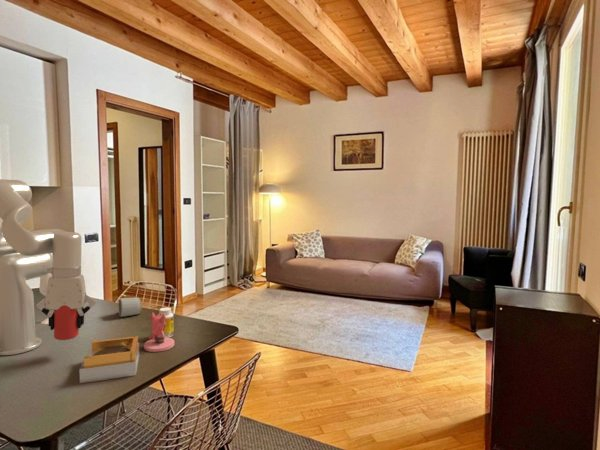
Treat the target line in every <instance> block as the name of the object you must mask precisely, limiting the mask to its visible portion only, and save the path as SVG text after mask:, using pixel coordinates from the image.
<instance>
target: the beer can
mask: <svg viewBox="0 0 600 450" xmlns="http://www.w3.org/2000/svg"><path fill="white" fill-rule="evenodd" d="M64 304H65V303H64ZM78 315H79V313H78V311H77V309H70V307H69V306H66V305H63V306H61V307H60V308H59V309H58V310H54V329H53V338H54V339H55V340H58V341H69V340H73V339H75V338H76V337H77V336H79V334H80V333H79V332H80V330H79V329H80V328H77V318H78Z"/></svg>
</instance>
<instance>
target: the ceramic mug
mask: <svg viewBox="0 0 600 450" xmlns="http://www.w3.org/2000/svg"><path fill="white" fill-rule="evenodd" d="M142 303H143V302H142V299H141V298H140V297H122V298H119V300H118V314H119V317H120V318H123V317H129V316H137V315H140V314H141V313H142V307H143V306H142Z"/></svg>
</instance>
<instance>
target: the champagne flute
mask: <svg viewBox="0 0 600 450" xmlns="http://www.w3.org/2000/svg"><path fill="white" fill-rule="evenodd" d="M51 276H52V274H51V273H49V274H47V275H45V276H41V277H39V292H40V294H41V295H43V296H44V297H46V293H47V285H48V280H49V277H51ZM40 324H42V325H49V318H48V317H46V318H45V319H43V320H42V321H41V322H40Z"/></svg>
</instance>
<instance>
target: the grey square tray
mask: <svg viewBox="0 0 600 450" xmlns="http://www.w3.org/2000/svg"><path fill="white" fill-rule="evenodd" d="M139 358H140V342H139V335H136V336H126V337H117V338H110V339H109V338H108V339H100V340H99V339H98V340H92V341H91V347H90V348H89V349H88V351H87V352H86V355H85V356H84V357H83V360H82V363H81V365H80V367H79V369H78V370H79V372H78V373H79V384H87V383H92V382H93V383H94V382H98V381H99V382H100V381H107V380H113V379H120V378H127V377H133V376H137V372H138V365H139Z"/></svg>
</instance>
